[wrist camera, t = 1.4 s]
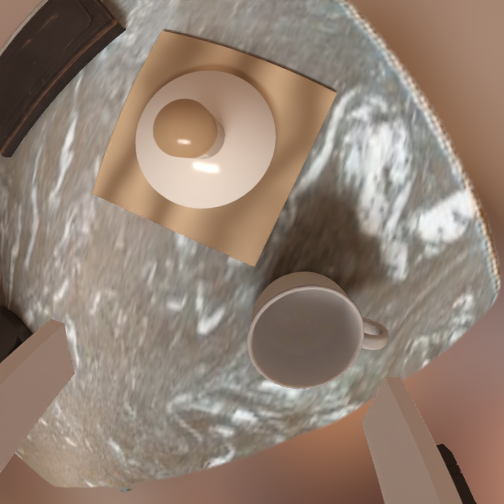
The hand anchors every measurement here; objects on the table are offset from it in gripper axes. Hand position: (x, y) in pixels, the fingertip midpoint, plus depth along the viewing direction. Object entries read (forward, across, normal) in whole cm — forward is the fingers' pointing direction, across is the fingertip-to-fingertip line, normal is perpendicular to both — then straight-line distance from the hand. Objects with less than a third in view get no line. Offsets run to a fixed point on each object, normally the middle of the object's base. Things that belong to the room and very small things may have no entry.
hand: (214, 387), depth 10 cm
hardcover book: (+22, -32, +21) cm, 44 cm away
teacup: (+22, +8, -6) cm, 24 cm away
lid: (+21, -6, +10) cm, 24 cm away
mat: (+21, -6, +10) cm, 24 cm away
